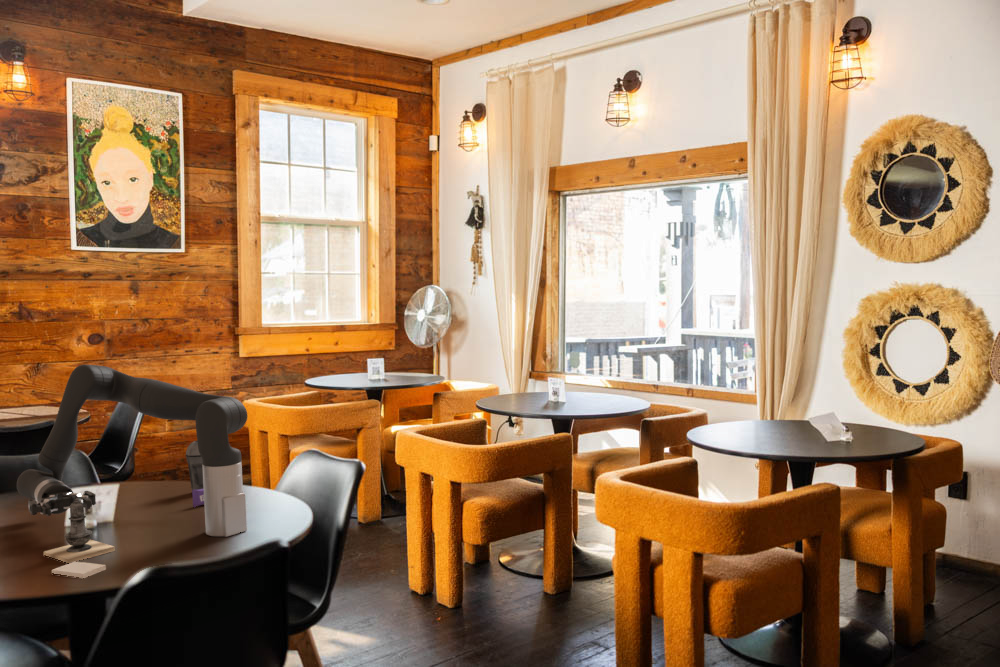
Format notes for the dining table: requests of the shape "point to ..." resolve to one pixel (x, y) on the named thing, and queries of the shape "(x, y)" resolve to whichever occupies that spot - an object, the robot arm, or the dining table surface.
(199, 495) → the snack package
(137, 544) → the dining table surface
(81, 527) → the salt shaker
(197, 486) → the beverage cup
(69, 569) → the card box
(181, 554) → the dining table surface
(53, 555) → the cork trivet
